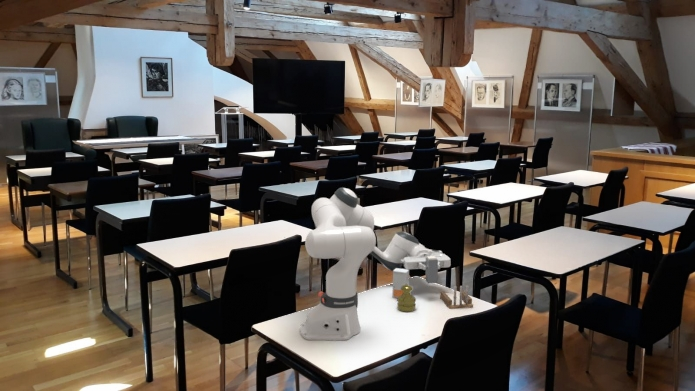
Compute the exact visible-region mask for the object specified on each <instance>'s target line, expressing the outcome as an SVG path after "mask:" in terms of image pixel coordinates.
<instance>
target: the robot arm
mask: <svg viewBox="0 0 695 391" xmlns="http://www.w3.org/2000/svg"><path fill="white" fill-rule="evenodd" d="M358 203H359V199H358V196H357V194H356V193H355V192H354V191H353V190H351V189H350V188H346V187H343V186H342V187H339V188H338V189H336V191H334V194H333V195H332V196H331V197H330V198H327V197H319V198H317V199H315V200H314V201H313V203H312V205H311V217H312V220H313V222H314V223H313V224H314V228H315V229H313V230H311V231H309V232H308V234H307V235H306V237H305V242H304V244H305V250H306V252H307V254H308V255H309V256H310V257H311V258H314V259H323V260H326V259H328V260H329V259H337V258H340V259H339V261H338V262H337V263H336V264H334V265H333V266H331V267H329V269H328V270H327V272H326V275H325V280H326V281H325V292H323V291H322V290H321V291H319V292H318V294H317V295H318V297H319V298H320V303H318V304H316V306H314V307H313V308H311V309H310V310H309V311H308V312H307V315H306V318H305V321H303V322H302V323H301V324H300V326H299V334H300V335H301V337H302V338H304V339H305V340H308V341H310V340H311V341H312V340H313V341H315V340H317V341H347V340H349V339H351V337H353V336H355V335H357V334H359V333H360V332H361V330H362V328H361V324H360V321H359V315H358V306H359V305H358V304H359V295H358V293H357V292H358V291H357V282H358V281H357V280H358V272H359V269H360V267H361V265H362V263H363V261H364V260H365V259H366V257H367V256H368V255H369V254H370V255H372V256H373V257H374V258H375V259H377V260H378V261H379V262H380V263H381V264H382V265H383V267H384V268H386V269H387V270H388V271H390V272H391V271H392V272H393V270H394V269H396V268H399V269H402V266H403V267H404V268H403V269H407V270H423V271H426V270H427V265H426V258H427V256H435V257H436V258H437V259H438V270H441V268H450V267H451V265H452V264H451V258H450V257H449V256H448V255H446V254H445V253H443V251H442V250H436V249H429V248H427V247H425V245H423V244H421V243H420V242H419V239H417V238H416V237H415V236H414V235H412V233H409V232H408V231H405V230H401V231H397V232H395V233H394V235H393V237H392V239H391V240H390V243H389V244H388V245H387V247H386V249H385V250H384V251H381V249H379V248H378V247H377V246H376V244H377V238H376V234H375V232H374V229H375V219H374V216H373V214H372V212H370V211H369V210H368V209H366V208H365V207H363V206H361V205H360V204H358Z"/></svg>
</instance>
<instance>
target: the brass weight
mask: <svg viewBox="0 0 695 391" xmlns="http://www.w3.org/2000/svg"><path fill="white" fill-rule="evenodd" d="M413 289H414V288H413V286H412V285H410V284H409V285H403V286H401V290H402V291H403V294H401V295H400V296H399V297H398V298H397V303H396V304H397V310H399V311H400V312H405V313H406V312H407V313H409V312H413V311H415V310H416V301H417V298H416V297H415V296H414V295H413V294H412V293H411V291H414V290H413Z"/></svg>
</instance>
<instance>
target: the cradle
mask: <svg viewBox="0 0 695 391" xmlns="http://www.w3.org/2000/svg"><path fill="white" fill-rule="evenodd" d="M463 288H464V287H463V285H460V286H459V302H458V303H459V304H457V291H458V290H457V286H456V285H455V286H453V300H452V299H451V298H450V296H448V294H447V293H446V292H445V291H440V294H439V296H440V298H439V299H440V300H441V301H442V302H443V303H444V304H445V305H446V307H447V308H448V309H449V310H453V309H466V308H467V309H468V308H471V309H472V308H474V304H473V303H472V302H473V299H472V297H470V295H469V285H467V284H466V285H465V290H463Z"/></svg>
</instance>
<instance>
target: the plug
mask: <svg viewBox="0 0 695 391" xmlns="http://www.w3.org/2000/svg"><path fill="white" fill-rule="evenodd" d="M426 265H427V270H425V282H426V283H427V284H438V283H439V282H438V278H439V277H438V276H439V273H438V272H439V269H438V259H437V258H436V257H435V256H427V258H426Z"/></svg>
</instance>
